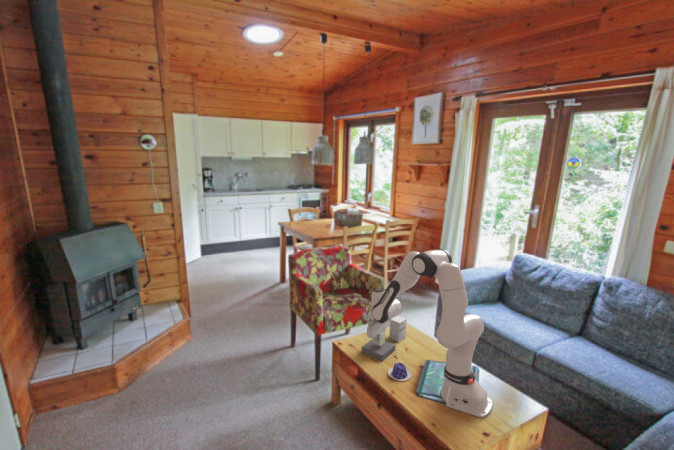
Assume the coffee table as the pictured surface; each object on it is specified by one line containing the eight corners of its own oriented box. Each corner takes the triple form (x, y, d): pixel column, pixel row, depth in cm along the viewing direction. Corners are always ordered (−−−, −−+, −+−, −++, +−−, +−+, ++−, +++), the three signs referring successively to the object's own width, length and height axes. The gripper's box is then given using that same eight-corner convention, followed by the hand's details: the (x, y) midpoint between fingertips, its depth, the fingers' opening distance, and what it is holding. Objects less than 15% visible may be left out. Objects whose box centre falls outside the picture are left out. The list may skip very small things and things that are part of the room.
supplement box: (398, 342, 208) (399, 323, 206) (389, 337, 214) (389, 319, 211) (406, 338, 213) (406, 319, 211) (396, 333, 219) (397, 315, 216)
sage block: (384, 342, 198) (384, 331, 197) (380, 346, 195) (380, 334, 193) (377, 339, 202) (377, 328, 200) (372, 343, 198) (372, 331, 196)
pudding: (415, 379, 174) (416, 370, 173) (394, 384, 171) (394, 374, 170) (404, 366, 186) (404, 357, 185) (384, 370, 182) (384, 361, 181)
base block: (395, 351, 200) (395, 344, 199) (382, 362, 190) (382, 355, 189) (375, 343, 209) (375, 337, 208) (361, 353, 198) (361, 346, 198)
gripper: (373, 324, 185) (373, 348, 188) (393, 311, 200) (392, 333, 203) (363, 321, 189) (363, 344, 192) (383, 308, 204) (383, 330, 207)
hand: (378, 338), depth 198 cm, fingers closed on sage block, 5 cm apart
